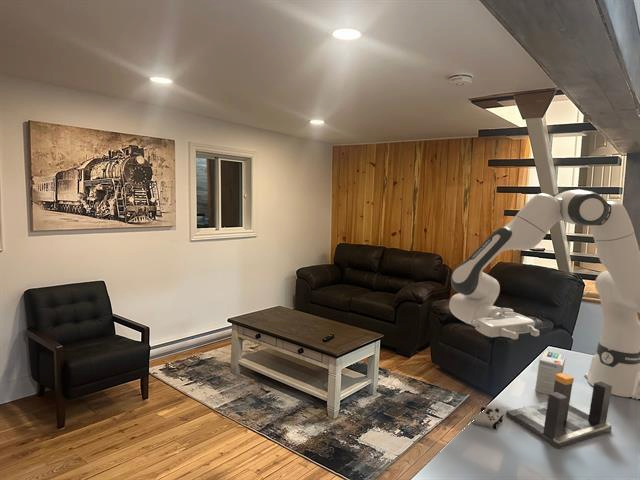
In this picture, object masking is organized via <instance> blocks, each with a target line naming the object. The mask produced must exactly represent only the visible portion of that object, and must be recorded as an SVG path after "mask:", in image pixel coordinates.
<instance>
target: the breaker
mask: <svg viewBox="0 0 640 480" xmlns="http://www.w3.org/2000/svg"><path fill="white" fill-rule="evenodd" d="M574 378H575V377H573V376H571V375H569V374H567V373H564V372H563V373H559V374H555V384H554V391H553V393H554V392H558V393H560V394H562V395H564V396H566V397H568V399H567V406H566V412H565V419H564V421H565V420H567V416H568V409H569V405H570V401H571V395H572V389H573V383H574V381H575V379H574Z"/></svg>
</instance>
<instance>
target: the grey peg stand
mask: <svg viewBox="0 0 640 480" xmlns="http://www.w3.org/2000/svg"><path fill="white" fill-rule="evenodd" d="M592 387H593V389H592V394H591V399H590V400H591V401H590V406H589V407H590V408H589V414H588V413H586V412H584V411H582V410H580V409H579V408H576V407H574V406H572V405H571V404H569V409H568V416H567V420H565V421H564V419H565V412H566V406H567V399H568V397H566V396H564V395H562V394H560V393H558V392H554V393H550V394H549V395H548V399H547V401H544V402H540V403H535V404H532V405H527V406H523V407H519V408H515V409H511V410H508V411H505V417H506V418H507V419H509V420H510V421H512V422H514V423H515V424H517V425H519V426H520V427H522V428H524V429H525V430H526V431H528V432H530V433H531V434H533V435H534V436H536V437H538V438H539V439H541V440H542V441H544V442H546V443H547V444H549V445H550V446H552V447H553V448H555V449H557V450H560V449H563V448H566V447H570V446H572V445H576V444H579V443H581V442H585V441H588V440H591V439H595V438H597V437H600V436H603V435H606V434H607V435H608V434H610V433H611V432H612V429H613V424H611V423H610V422H608V421H607V419H608V412H609V408H610V407H609V406H610V401H611V397H612V396H611V395H612V394H611V390H612V386H610V385H608V384H605V383H603V382H597V383H594V386H592Z"/></svg>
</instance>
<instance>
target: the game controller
mask: <svg viewBox="0 0 640 480" xmlns="http://www.w3.org/2000/svg"><path fill="white" fill-rule="evenodd" d="M483 410H484V411H483ZM482 411H483V412H482ZM503 418H504V414H503V413H502V412H501V411H500V409H499V408H493V407H490V406H488V405H487V406H486V405H484V406H482V407H480V413H477V414H475V415H474V416H472V417H471V419H470V422H471V424H473V425H476V426H482V427H489V428H490V429H492V430H497V426H498V425H499V423H503ZM473 420H474V421H473ZM472 421H473V422H472Z"/></svg>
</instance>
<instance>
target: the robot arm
mask: <svg viewBox="0 0 640 480" xmlns="http://www.w3.org/2000/svg"><path fill="white" fill-rule="evenodd" d="M561 221H563V222H566V223H568V224H571V225H579V226H584V227H588V226H589V227H590V229H591V233H592V236H593V237H592V238H593V240H594V244H595V247H596V251H597V255H598V259H599V262H600V263H601V265H602V266H603V267H604V268H605V269H606V270H605V271H602V272H600V273H599V274H598V275H597V277H595V282H594V288H595V290H596V291H597V293H598V296H599V299H600V307H601V313H602V314H601V315H602V325H601V331H600V339H599V342H597V345H596V354H594V355H593V356H592V358H591V361H590V365H589V368H588V371H587V372H585V373H584V377H585V378H586V379H587V383H589V385H590V386H591V387H594V383H597V382H603V383H605V384H608V385H610V386H612V390H611V395H614V396H617V397H622V398H629V397H632V398H631V399H634V398H636V399H635V400H638V399H640V319H639V316H638V313H640V246H639V244H638V239H637V237H636V234H635V229H634V226H633V224H632V219H631V218H630V216H629V214H628V211H627V210H626V208H625V206H624V204H622V203H620V202H618V201H615V200H611V201H610V200H608V201H607V200H606V199H605V198H604V197H603V196H602V195H600V194H599V193H597V192H594V191H591V190H586V189H566V190H565V189H564V190H562V191H560V192H558V193H556V194H553V195H551V194H548V193H537V194H534V196H533V197H531V198H530V199H528V201H527V202H526V203H525V204H524V205H523V206H522V208H521V209H520V210H519V211H518V212H517V214H516V215H515V216H514V217H513V218H512V219H511V220H510V221H509V222H508V223H507V224H506V225H504V226H503V227H500V228H497V229H496V230H494V231H493V232H492V233H491V234H490V235H489V236H488V237H487V238H486V239H485V240H484V241H483V242H482V243H481V244H480V245H479V246H478V247H477V249H475V250H474V251H473V252H472V253H471V254H470V256H469V257H468V258H467V259H465V260H464V261H462V263H460V264H459V265H457V266H456V267H455V268H454V269H453V271H452V273H451V276H450V285H451V287H452V289H453V290H454V292H456V294H454V295H452V296H451V297H450V299H449V304H448V305H449V306H448V307H449V310H450V312H451V314H452V315H453V316H454V317H455V318H457V319H458V320H460V321H462V322H464V323H465V324H467V325H471V326H473V327H475V330H476V331H477V332H479V333H480V334H482V335H484V336H486V337H489V338H498V337H504V338H508V339H509V338H510V339H512V340H518V339H519V335H520V334H528V333H530V335H531V336H534V337H539V336H540V330H539V329H536V328H535V326H536V321H534V320H533V319H532V318H529V317H527V315H523V314H520V313H517V312H515V311H514V309H512V308H510V307H509V308H508V307H499V306H496V305H494V304H495V302H497V299H498V298H499V295H500V293H501V285H500V282H499V281H498V280H497V279H496V278H494V277H493V276H491V275H489V274H487V273H485V272H484V270H485V269H486V268H487V266H489V264H490V263H491V262H492V261H493V260H494V259H495V258H496V257H497V256H498V255H499V254H501V253H502V252H505V251H510V250H511V251H512V250H514V251H515V250H517V251H528V250H531V249H534V248H535V247H536V246H537V245H539V244H540V243H541V242H542V241H543V239H544V238H545V237H546V235H548V232H549V231H550V230H551V228H553V226H554V225H556V224H557V223H559V222H561Z"/></svg>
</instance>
